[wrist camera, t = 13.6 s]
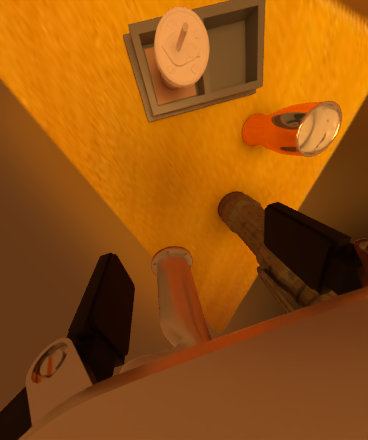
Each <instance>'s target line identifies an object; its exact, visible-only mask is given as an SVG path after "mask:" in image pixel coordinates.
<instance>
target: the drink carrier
mask: <svg viewBox="0 0 368 440" xmlns="http://www.w3.org/2000/svg"><path fill="white" fill-rule="evenodd" d="M192 11H193V12H195V13H196V14H197V15H198V16H199V18H200V19H201V20H202V22H203V24H204V26H205V28H206V31H207V34H208V39H209V58H208V63H207V66H206V69H205V71H204V73H203V74H202V76H201V77H200V79H199V80H198V81H197V82H196V83H195V84H193V85H192V86H189V87H187V88H177V89H174V90H172V89H169V88H167V87H166V86H165V84H164V83H163V81H162V77H161V72H160V70H159V69H158V66H157V63H156V60H155V53H154V40H155V34H156V30H157V26H158V24H159V22H160V20H161V18H162V17H163V16H162V17H158V18H154V19H150V20H146V21H141V22H137V23H133V24H129V25H128V26H129V31H130V33H129V34H125V35H123V37H124V41H125V44H126V47H127V51H128V54H129V58H130V61H131V64H132V68H133V71H134V74H135V78H136V81H137V84H138V88H139V91H140V94H141V98H142V101H143V104H144V108H145V111H146V115H147V118H148V121H149V122H151V121H155V120H158V119H162V118H166V117H170V116H173V115H177V114H181V113H184V112H188V111H192V110H195V109H199V108H203V107H206V106H210V105H214V104H218V103H221V102H225V101H229V100H232V99H236V98H240V97H243V96H247V95H251V94H254V93H256V89H257V88H260V87H262V86H263V58H264V27H265V0H229V1H225V2H221V3H217V4H213V5H209V6H204V7H200V8H196V9H192Z"/></svg>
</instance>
